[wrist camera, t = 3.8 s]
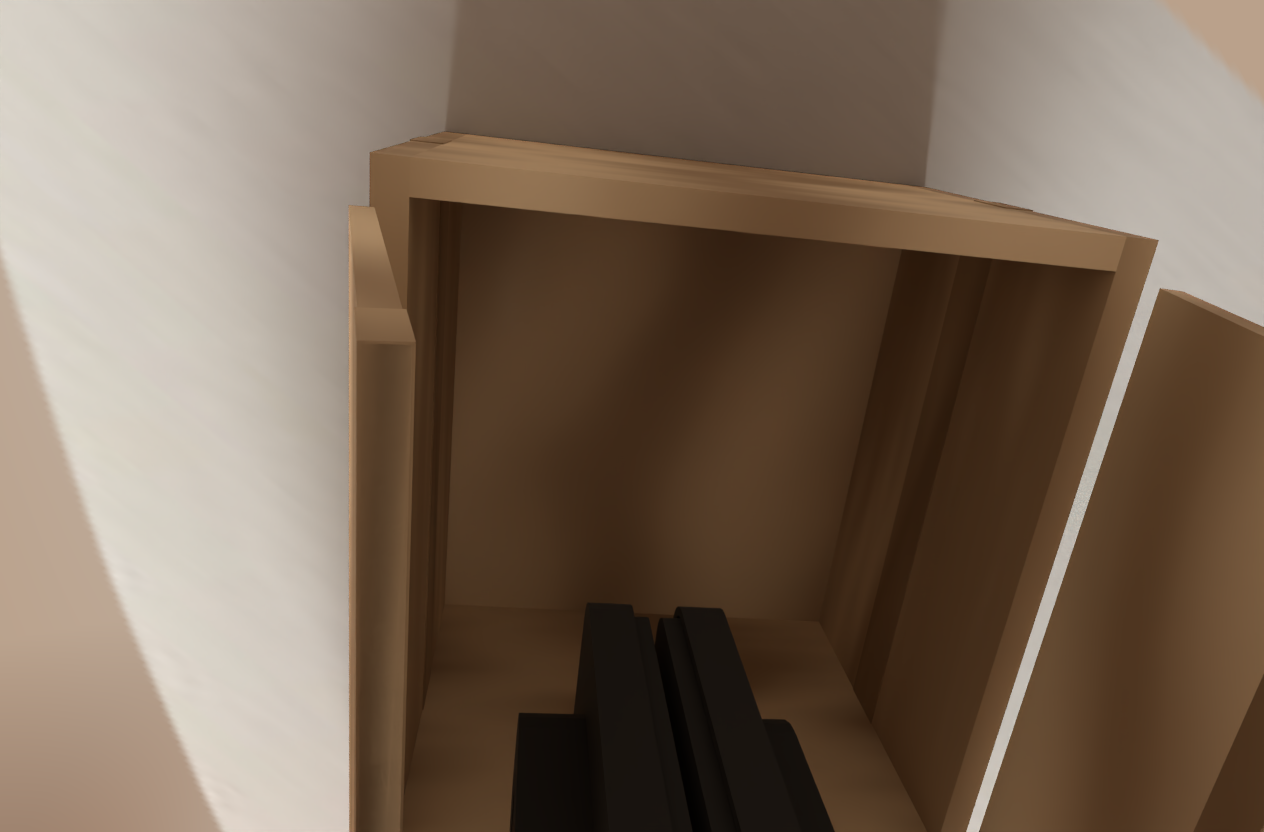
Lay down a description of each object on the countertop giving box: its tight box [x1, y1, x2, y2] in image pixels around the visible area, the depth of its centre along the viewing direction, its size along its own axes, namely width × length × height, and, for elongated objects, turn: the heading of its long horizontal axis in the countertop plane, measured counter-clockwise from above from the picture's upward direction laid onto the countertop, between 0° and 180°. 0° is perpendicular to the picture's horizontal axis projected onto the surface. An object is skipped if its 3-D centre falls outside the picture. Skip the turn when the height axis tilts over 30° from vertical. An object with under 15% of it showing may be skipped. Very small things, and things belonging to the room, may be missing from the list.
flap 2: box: [979, 288, 1264, 832], centre depth 11 cm, size 6×11×1 cm
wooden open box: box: [370, 132, 1159, 832], centre depth 17 cm, size 11×12×8 cm
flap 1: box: [349, 205, 416, 832], centre depth 9 cm, size 6×11×1 cm
